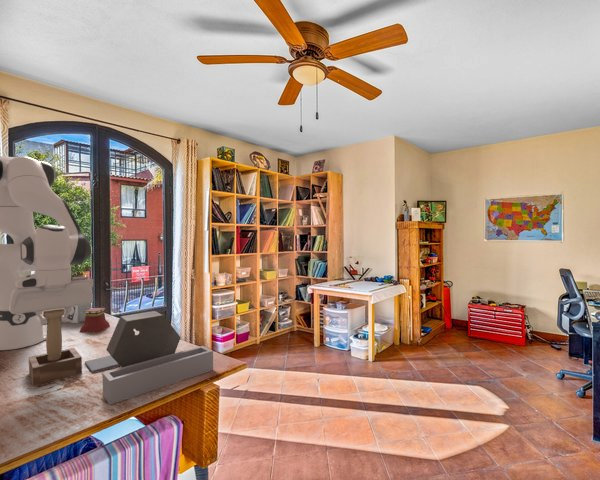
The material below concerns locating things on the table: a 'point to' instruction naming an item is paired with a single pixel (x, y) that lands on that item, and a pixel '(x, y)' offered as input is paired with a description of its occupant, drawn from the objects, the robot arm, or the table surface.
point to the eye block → (54, 366)
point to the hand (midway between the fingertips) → (54, 323)
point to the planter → (142, 338)
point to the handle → (53, 333)
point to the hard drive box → (77, 313)
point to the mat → (101, 364)
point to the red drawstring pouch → (94, 320)
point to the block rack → (155, 373)
